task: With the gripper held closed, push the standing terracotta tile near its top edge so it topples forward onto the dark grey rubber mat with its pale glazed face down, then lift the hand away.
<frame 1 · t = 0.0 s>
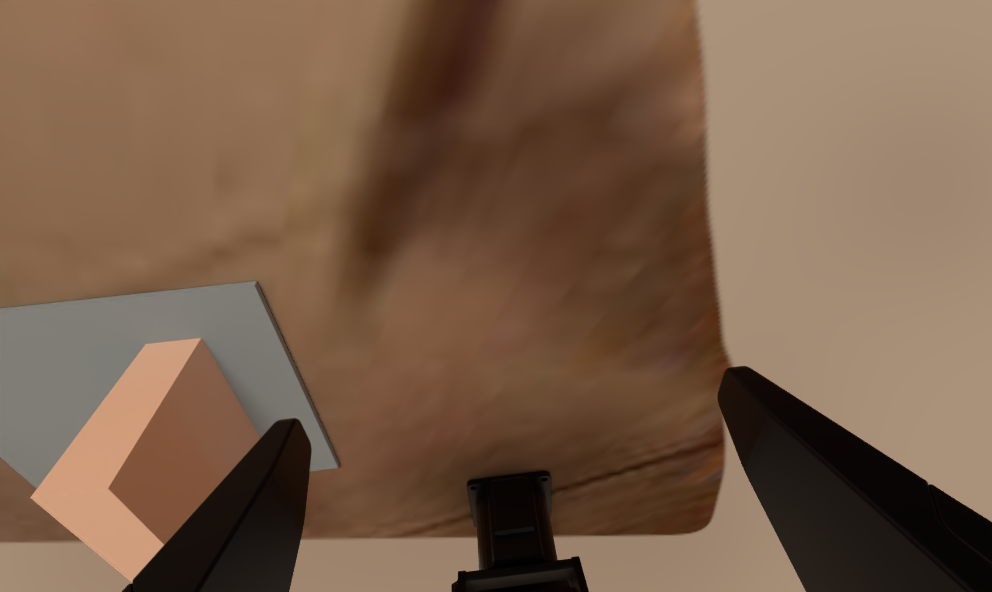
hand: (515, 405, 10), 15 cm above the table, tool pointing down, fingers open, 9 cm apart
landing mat: (140, 405, 29), on the table
tile: (212, 402, 29), resting on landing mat
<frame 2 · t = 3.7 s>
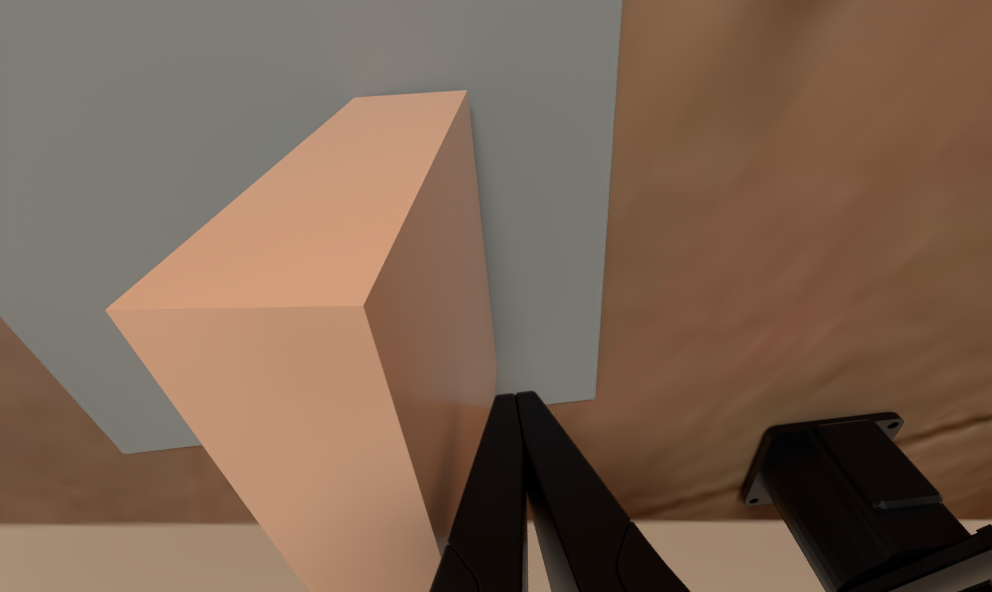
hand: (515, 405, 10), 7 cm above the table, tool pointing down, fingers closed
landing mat: (304, 262, 16), on the table
tile: (439, 257, 15), point 1 cm above the table, tilted 9°, touching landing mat
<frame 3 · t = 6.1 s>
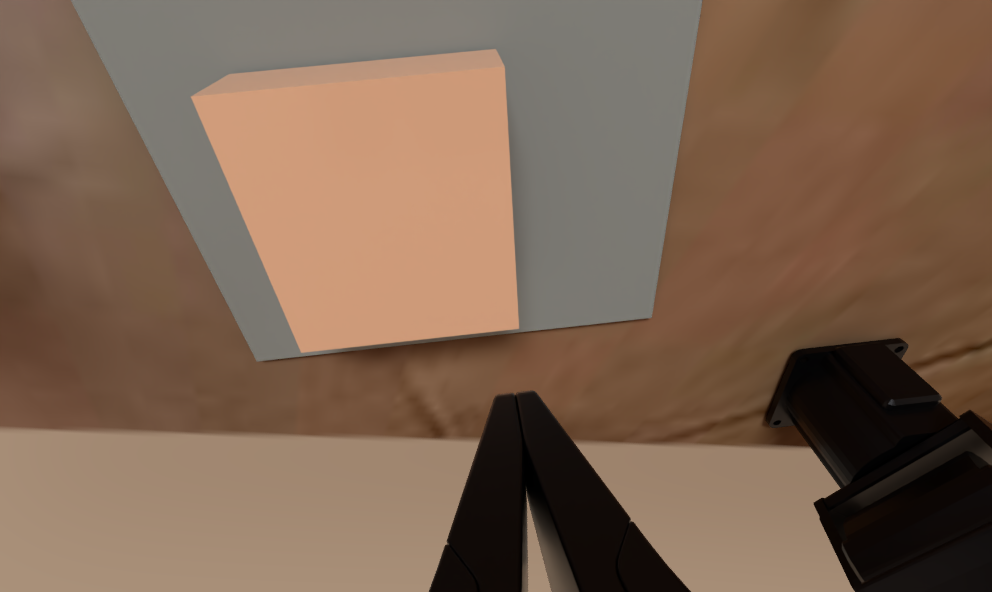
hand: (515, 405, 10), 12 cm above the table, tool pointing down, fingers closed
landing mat: (432, 187, 20), on the table
tile: (508, 202, 18), point 2 cm above the table, tilted 90°, touching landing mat
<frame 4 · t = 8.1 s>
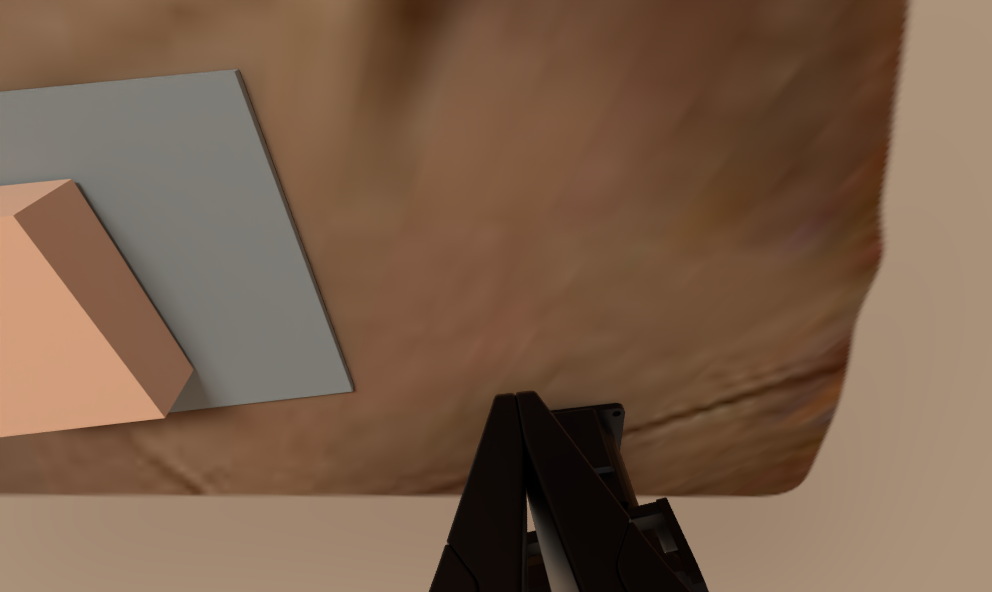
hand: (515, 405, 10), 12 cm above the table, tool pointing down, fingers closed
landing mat: (81, 287, 21), on the table
tile: (122, 309, 19), point 2 cm above the table, tilted 90°, touching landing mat
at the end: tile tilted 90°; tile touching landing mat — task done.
